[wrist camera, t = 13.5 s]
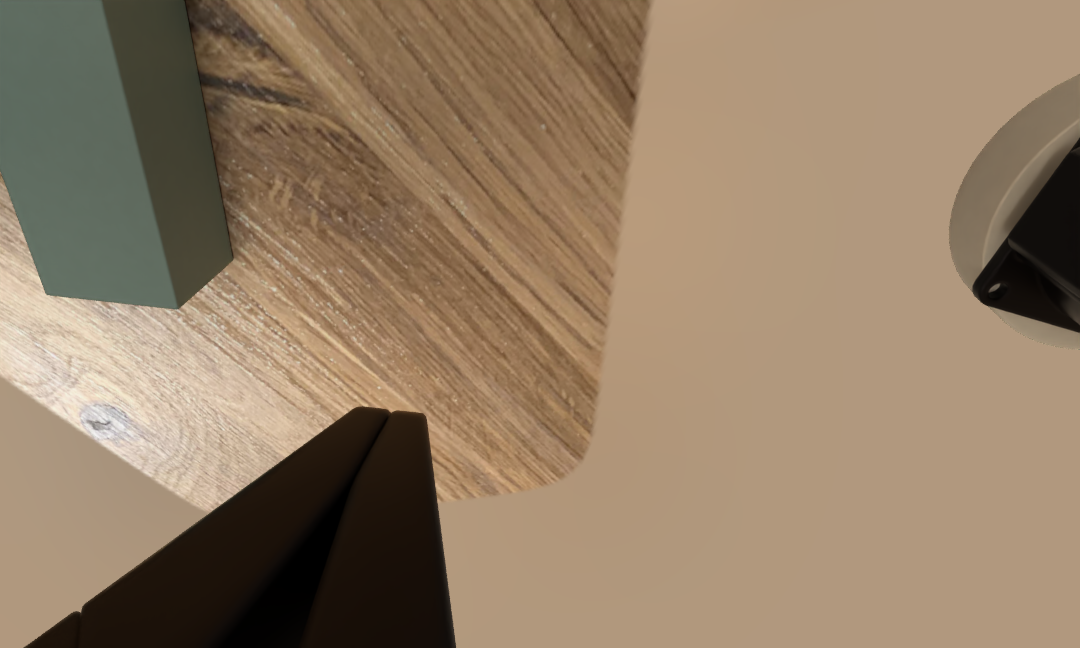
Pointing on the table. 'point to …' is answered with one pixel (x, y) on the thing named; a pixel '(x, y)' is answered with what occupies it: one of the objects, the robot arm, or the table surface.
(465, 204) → the table surface
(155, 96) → the prop block
